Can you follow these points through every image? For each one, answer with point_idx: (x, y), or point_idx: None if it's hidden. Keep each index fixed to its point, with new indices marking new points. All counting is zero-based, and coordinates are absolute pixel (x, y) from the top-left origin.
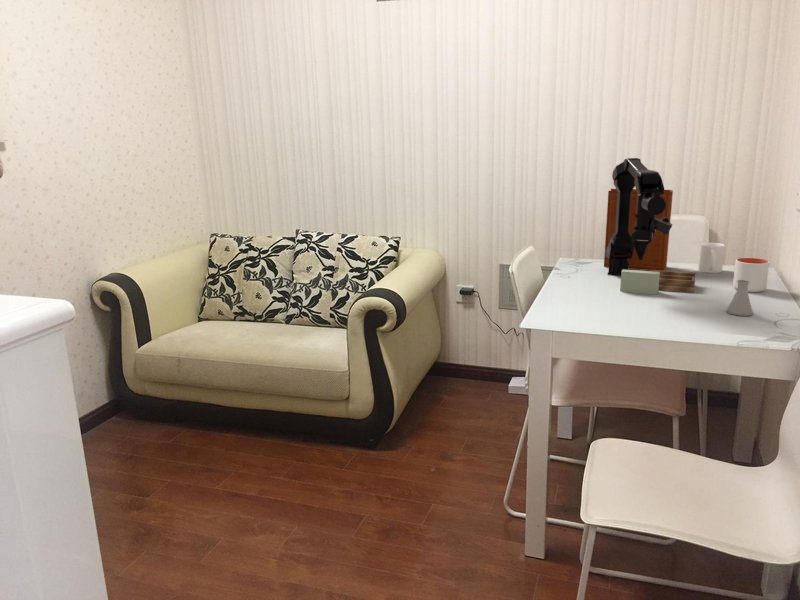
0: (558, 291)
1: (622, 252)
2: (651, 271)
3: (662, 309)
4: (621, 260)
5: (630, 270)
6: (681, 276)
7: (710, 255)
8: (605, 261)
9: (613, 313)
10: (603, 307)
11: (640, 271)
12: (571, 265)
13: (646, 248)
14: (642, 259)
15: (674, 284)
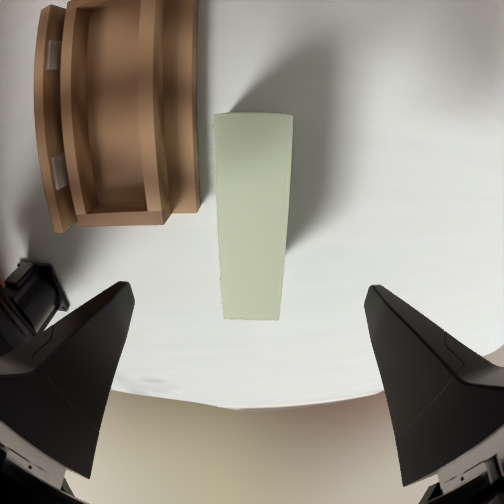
0: (318, 384)
1: (17, 331)
2: (218, 169)
3: (479, 124)
4: (26, 308)
5: (235, 286)
6: (71, 45)
7: None
8: None
9: (499, 253)
10: (462, 280)
11: (244, 235)
12: None
13: (98, 311)
14: (382, 286)
15: (161, 50)
